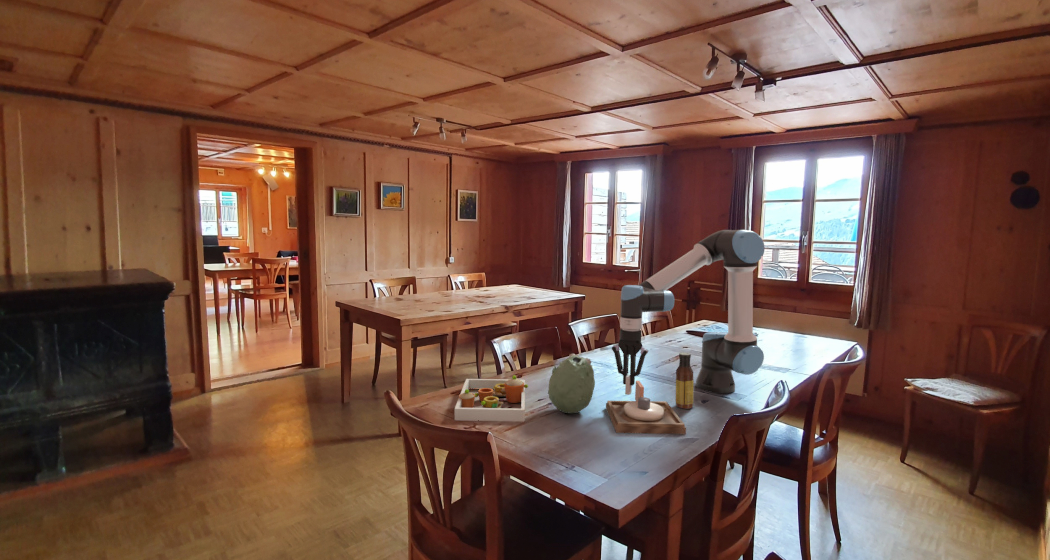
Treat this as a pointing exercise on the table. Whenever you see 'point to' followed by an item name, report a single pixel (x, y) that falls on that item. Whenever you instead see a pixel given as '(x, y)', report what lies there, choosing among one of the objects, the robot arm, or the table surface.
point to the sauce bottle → (684, 382)
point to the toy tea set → (509, 389)
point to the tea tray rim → (488, 413)
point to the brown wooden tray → (630, 425)
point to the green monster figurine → (572, 384)
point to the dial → (643, 407)
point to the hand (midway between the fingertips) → (628, 393)
